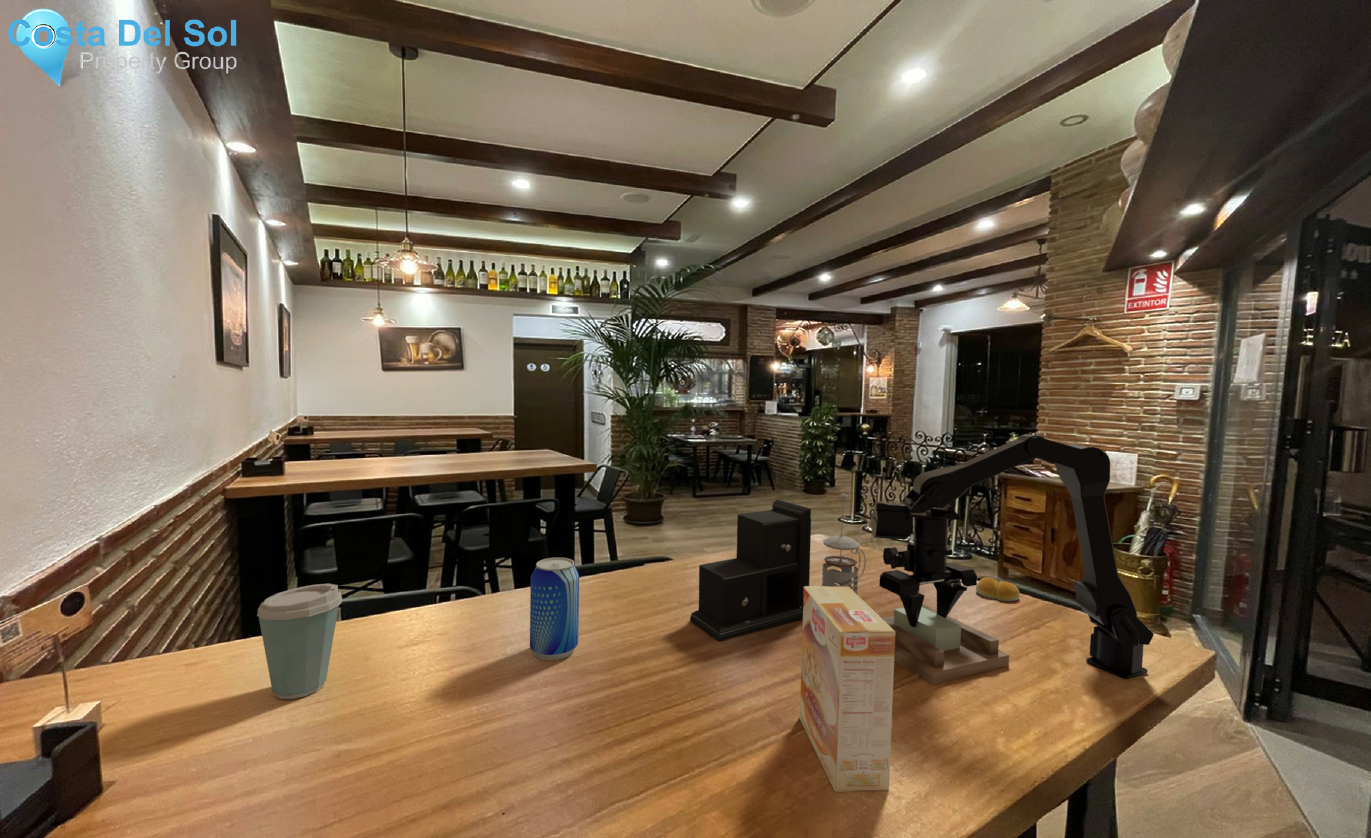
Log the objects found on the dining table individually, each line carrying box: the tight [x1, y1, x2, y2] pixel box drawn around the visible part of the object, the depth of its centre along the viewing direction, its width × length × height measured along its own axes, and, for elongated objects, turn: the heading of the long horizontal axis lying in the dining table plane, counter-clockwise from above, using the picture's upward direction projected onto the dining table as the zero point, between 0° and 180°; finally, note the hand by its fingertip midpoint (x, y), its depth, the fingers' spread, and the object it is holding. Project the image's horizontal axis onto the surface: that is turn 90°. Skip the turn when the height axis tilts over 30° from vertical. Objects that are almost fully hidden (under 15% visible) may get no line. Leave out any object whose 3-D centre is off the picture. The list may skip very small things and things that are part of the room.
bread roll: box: [975, 576, 1020, 602], centre depth 129 cm, size 8×9×4 cm
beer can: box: [529, 557, 580, 662], centre depth 95 cm, size 8×8×16 cm
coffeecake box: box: [798, 585, 896, 793], centre depth 70 cm, size 15×7×20 cm, turn 4°
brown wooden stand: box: [880, 603, 1010, 685], centre depth 100 cm, size 20×18×4 cm
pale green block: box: [893, 607, 961, 651], centre depth 100 cm, size 10×6×4 cm, turn 22°
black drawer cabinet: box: [689, 499, 812, 642], centre depth 111 cm, size 23×11×24 cm, turn 121°
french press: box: [821, 493, 867, 595], centre depth 122 cm, size 10×12×25 cm
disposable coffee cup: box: [256, 583, 343, 700], centre depth 82 cm, size 11×11×15 cm
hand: (926, 623), depth 100 cm, fingers open, 7 cm apart
